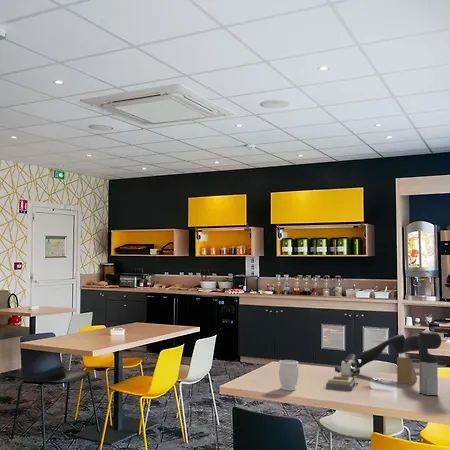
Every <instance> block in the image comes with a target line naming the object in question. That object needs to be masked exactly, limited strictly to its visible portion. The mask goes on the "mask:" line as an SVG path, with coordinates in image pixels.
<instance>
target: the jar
mask: <svg viewBox="0 0 450 450" xmlns="http://www.w3.org/2000/svg"><path fill="white" fill-rule="evenodd" d="M278 363H279V368H278V376H279V383H280V385H281V386H280V389H281V390H283V391H289V392H291V391H292V392H293V391H296V390H297V387H296V386H297V383H298V379H299V366H298V365H299V361H297V360H293V359H280V360H279V361H278Z"/></svg>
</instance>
